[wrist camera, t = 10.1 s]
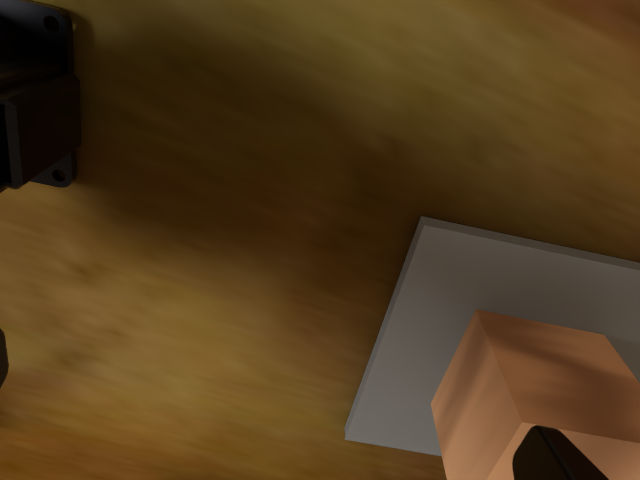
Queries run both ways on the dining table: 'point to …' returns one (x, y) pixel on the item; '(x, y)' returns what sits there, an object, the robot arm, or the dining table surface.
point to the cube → (535, 397)
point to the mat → (459, 306)
